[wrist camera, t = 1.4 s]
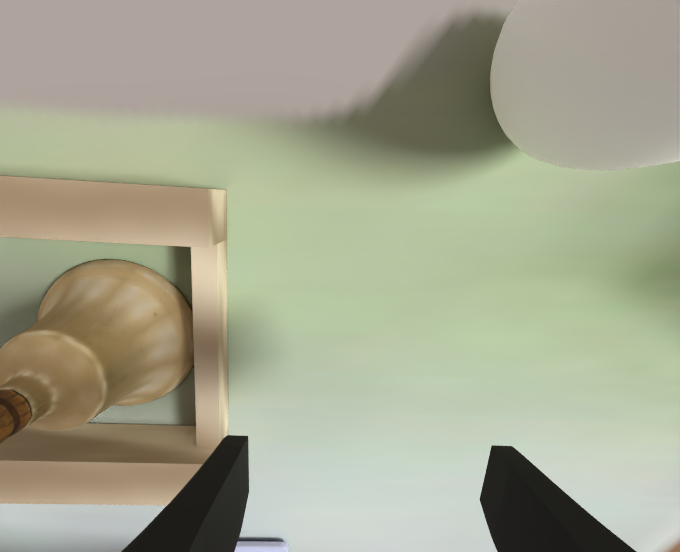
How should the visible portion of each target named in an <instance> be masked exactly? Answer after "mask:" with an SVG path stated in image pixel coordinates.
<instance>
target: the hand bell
mask: <svg viewBox="0 0 680 552" xmlns="http://www.w3.org/2000/svg"><path fill="white" fill-rule="evenodd" d="M193 364H194V338H193V313H192V311H191V308H190V307H189V305H188V303H187V302H186V300H185V298H184V297H183V295H182V294H181V293H180V292H179V291H178V289H176V288H175V287H174V286H173V284H172V283H170V282H169V281H168V280H167V279H165V278H164V277H163V276H161V275H160V274H158V273H157V272H155V271H153V270H151V269H149V268H147V267H144V266H142V265H139V264H136V263H132V262H128V261H124V260H112V259H106V260H96V261H91V262H87V263H84V264H81V265H79V266H77V267H75V268H72V269H71V270H69V271H67V272H66V273H65V274H63V275H62V276H61V277H60V278H59V279H57V280H56V281H55V282H54V284H53V285H52V286H51V287H50V289H49V290H48V292H47V294H46V295H45V297H44V299H43V301H42V303H41V305H40V308H39V312H38V316H37V322H36V323H35V324H34V325H32V326H31V327H29V328H28V329H26V330H25V331H23V332H21V333H20V334H18V335H16V336H14V337H13V338H12V339H10V340H9V341H8V342H7V343H5V344H4V346H3V347H2V348H1V349H0V444H1V443H2V442H4V441H5V440H6V439H8V438H9V437H10V436H12V435H14V434H16V433H18V432H19V431H21V430H22V429H23V428H24V427H25V426H30V427H33V428H36V429H40V430H45V431H63V430H70V429H73V428H76V427H79V426H81V425H83V424H85V423H87V422H89V421H90V420H92V419H93V418H94V417H96V416H97V415H98V414H99V413H101V412H102V411H104V410H105V409H107V408H108V407H110V406H111V405H119V406H126V405H137V404H142V403H146V402H150V401H153V400H156V399H158V398H160V397H162V396H164V395H166V394H168V393H170V392H171V391H172V390H174V389H175V388H176V387H177V386H178V385H180V384H181V382H182V381H183V380H184V379H185V378H186V376H187V375H188V373H189V372H190V370H191V368H192V366H193Z"/></svg>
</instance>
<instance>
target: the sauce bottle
mask: <svg viewBox="0 0 680 552" xmlns="http://www.w3.org/2000/svg"><path fill="white" fill-rule="evenodd" d="M490 93H491V99H492V104H493V109H494V112H495V115H496V117H497V120H498V122H499V124H500V126H501V128H502V129H503V131H504V133H505V134H506V136H507V137H508V138H509V139H510V140H511V141H512V142H513V143H514V145H515V146H516V147H518V148H519V149H521V150H522V151H524V152H525V153H527V154H528V155H529V156H531V157H533V158H535V159H537V160H540V161H543V162H546V163H549V164H552V165H555V166H559V167H564V168H573V169H585V170H618V169H629V168H637V167H645V166H653V165H659V164H666V163H672V162H677V161H680V0H517V2H516V3H515V5H514V7H513V8H512V10H511V12H510V13H509V15H508V17H507V19H506V20H505V23H504V25H503V27H502V30H501V33H500V35H499V38H498V41H497V44H496V47H495V50H494V53H493V59H492V66H491V72H490Z"/></svg>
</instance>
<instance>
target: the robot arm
mask: <svg viewBox="0 0 680 552" xmlns="http://www.w3.org/2000/svg"><path fill="white" fill-rule="evenodd" d="M248 493H249V466H248V436H231V435H227V436H226V437H224V438H223V439H222V441H221V442H220V443H219V445H218V446H217V447H216V449H215V450H214V451H213V452H212V454H211V455H210V456H209V458H208V459H207V460H206V461H205V462H204V464H203V465H202V466H201V467H200V469H199V470H198V471H197V472H196V473H195V475H194V476H193V477H192V478H191V479H190V480H189V481H188V483H187V484H186V485H185V486H184V487H183V488H182V490H181V491H180V492H179V493H178V494H177V495H176V496H175V498H174V499H173V500H172V501H171V502H170V503H169V504H168V505H167V506H166V507H165V508H164V509H163V510H162V511H161V512H160V514H159V515H158V516H157V517H156V518H155V519H154V520H153V521H152V522H151V523H150V524H149V525H148V526H147V527H146V528H145V529H144V530H143V531H142V532H141V533H140V534H139V535H138V536H137V537H136V538H135V539H134V540H133V541H132V542H131V543H130V544H129V545H128V546H127V547H126V548H125V549H124V550H123V551H122V552H289V547H288V545H287V544H286V543H285V542H260V541H238V538H239V535H240V532H241V527H242V523H243V518H244V513H245V508H246V503H247V498H248ZM480 502H481V505H482V508H483V512H484V515H485V518H486V521H487V524H488V527H489V531H490V534H491V537H492V539H493V542H494V544H495V546H496V549H497V551H498V552H636V551H635V550H634V549H632V548H631V547H630V546H628V545H627V544H626V543H625V542H623V541H622V540H621V539H620V538H618V537H617V536H616V535H615V534H613V533H612V532H611V531H610V530H608V529H607V528H606V527H605V526H603V525H602V524H601V523H600V522H599V521H597V520H596V519H595V518H594V517H593V516H591V515H590V514H589V513H588V512H587V511H586V510H584V509H583V508H582V507H581V506H580V505H578V504H577V503H576V502H575V501H574V500H573V499H572V498H570V497H569V496H568V495H567V494H566V493H565V492H564V491H562V490H561V489H560V488H559V487H558V486H557V485H556V484H554V483H553V482H552V481H551V480H550V479H549V478H548V477H547V476H545V475H544V474H543V473H542V472H541V471H540V470H539V469H538V468H537V467H535V466H534V465H533V464H532V463H531V462H530V461H529V460H527V459H526V458H525V457H524V456H523V455H522V454H521V453H519V452H518V451H517V450H516V449H515V448H513V447H512V446H492V447H491V451H490V456H489V460H488V465H487V469H486V474H485V478H484V483H483V487H482V492H481V496H480Z"/></svg>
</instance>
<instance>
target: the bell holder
mask: <svg viewBox="0 0 680 552" xmlns="http://www.w3.org/2000/svg"><path fill="white" fill-rule="evenodd" d="M0 237H17V238H35V239H54V240H73V241H91V242H110V243H128V244H147V245H165V246H184V247H191V270H192V304H193V338H194V371H195V405H196V426H182V425H141V424H100V423H85V424H83V425H81V426H79V427H76V428H73V429H70V430H63V431H45V430H40V429H36V428H33V427H30V426H25V427H24V428H23V429H22V430H21V431H19V432H18V433H16V434H14V435H12V436H10V437H9V438H8V439H6V440H5V441H4V442H2V443H1V444H0V503H16V504H106V505H168V504H169V503H170V502H171V501H172V500H173V499H174V498H175V496H176V495H177V494H178V493H179V492H180V491H181V490H182V488H183V487H184V486H185V485H186V484H187V483H188V481H189V480H190V479H191V478H192V477H193V476H194V475H195V473H196V472H197V471H198V470H199V469H200V467H201V466H202V465H203V464H204V462H205V461H206V460H207V459H208V458H209V456H210V455H211V454H212V452H213V451H214V450H215V449H216V447H217V446H218V445H219V443H220V442H221V441H222V439H223V438H224V437H226V436H227V435H228V324H227V190H221V189H205V188H190V187H174V186H158V185H143V184H127V183H111V182H96V181H80V180H64V179H48V178H33V177H17V176H1V175H0Z"/></svg>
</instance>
